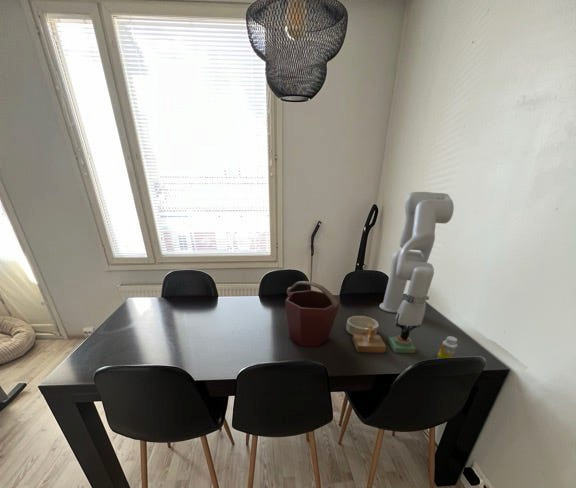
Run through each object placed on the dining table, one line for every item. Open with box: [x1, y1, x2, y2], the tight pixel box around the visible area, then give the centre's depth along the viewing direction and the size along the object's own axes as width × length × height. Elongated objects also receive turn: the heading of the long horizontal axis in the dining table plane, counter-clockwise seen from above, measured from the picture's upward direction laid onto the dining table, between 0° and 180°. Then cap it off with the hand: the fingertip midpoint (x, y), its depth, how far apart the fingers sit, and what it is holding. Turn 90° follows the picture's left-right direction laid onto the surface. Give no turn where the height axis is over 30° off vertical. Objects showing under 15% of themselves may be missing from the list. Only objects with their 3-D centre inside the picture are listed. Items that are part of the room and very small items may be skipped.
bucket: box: [284, 280, 340, 347], centre depth 129 cm, size 24×22×25 cm
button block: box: [387, 334, 417, 354], centre depth 131 cm, size 10×9×4 cm
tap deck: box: [352, 334, 387, 354], centre depth 131 cm, size 13×12×3 cm
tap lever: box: [365, 324, 375, 342], centre depth 130 cm, size 8×2×5 cm, turn 1°
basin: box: [345, 315, 379, 336], centre depth 141 cm, size 15×15×5 cm
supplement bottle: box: [436, 336, 458, 359], centre depth 121 cm, size 6×6×10 cm
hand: (403, 338), depth 129 cm, fingers closed
